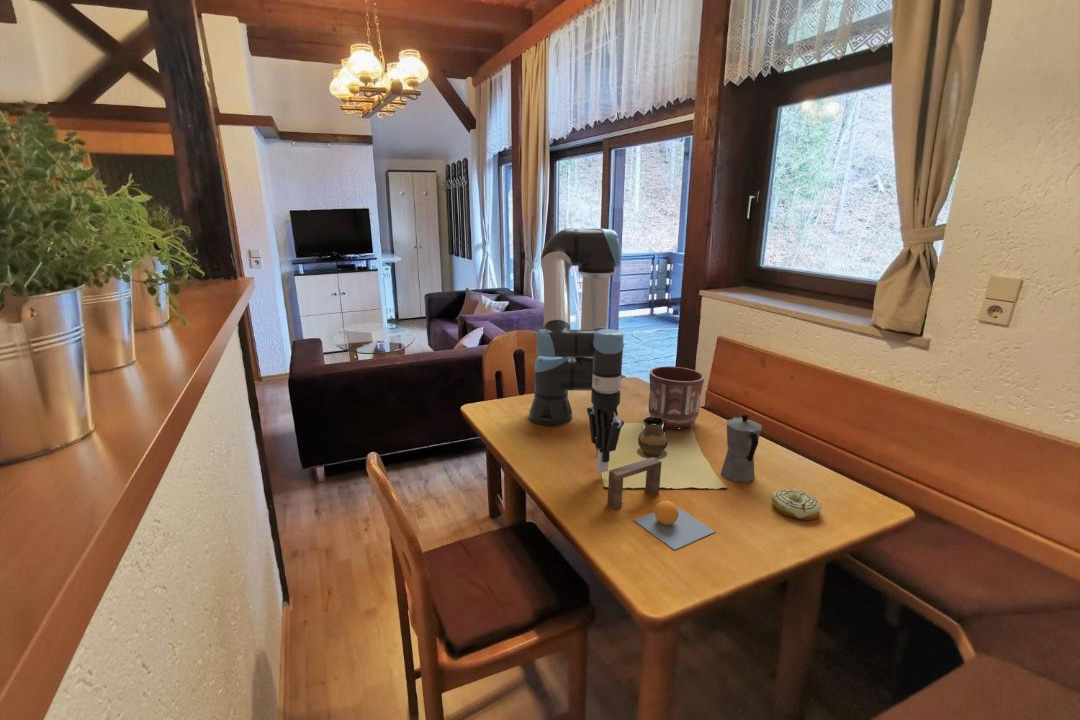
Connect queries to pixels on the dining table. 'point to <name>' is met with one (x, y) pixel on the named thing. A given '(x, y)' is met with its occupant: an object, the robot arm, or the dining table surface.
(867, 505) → the dining table surface
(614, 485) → the bridge
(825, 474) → the dining table surface
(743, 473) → the coffeepot
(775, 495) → the decorated donut
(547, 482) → the dining table surface
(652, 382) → the pottery
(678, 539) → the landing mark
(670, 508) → the ball
